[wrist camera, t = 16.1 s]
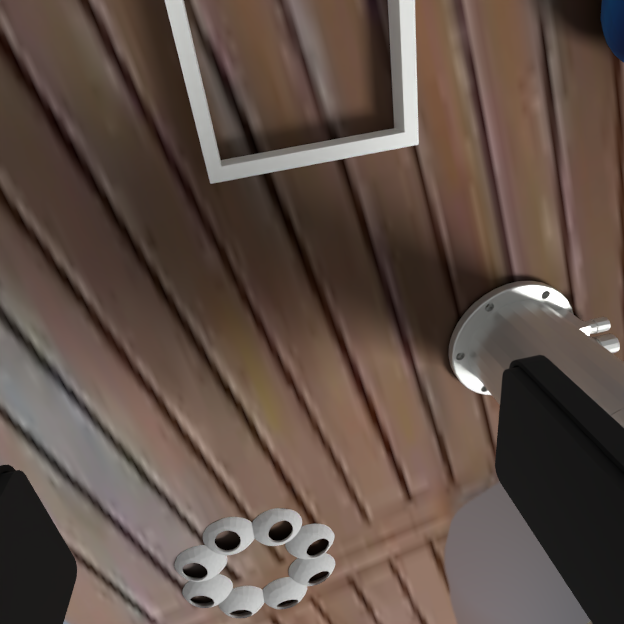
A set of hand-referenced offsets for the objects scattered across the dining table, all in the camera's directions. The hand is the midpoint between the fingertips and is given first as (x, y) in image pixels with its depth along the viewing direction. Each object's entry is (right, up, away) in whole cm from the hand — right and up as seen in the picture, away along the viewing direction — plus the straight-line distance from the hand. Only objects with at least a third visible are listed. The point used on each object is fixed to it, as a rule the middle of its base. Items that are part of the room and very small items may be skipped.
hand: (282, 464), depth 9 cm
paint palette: (-6, -27, +48) cm, 55 cm away
